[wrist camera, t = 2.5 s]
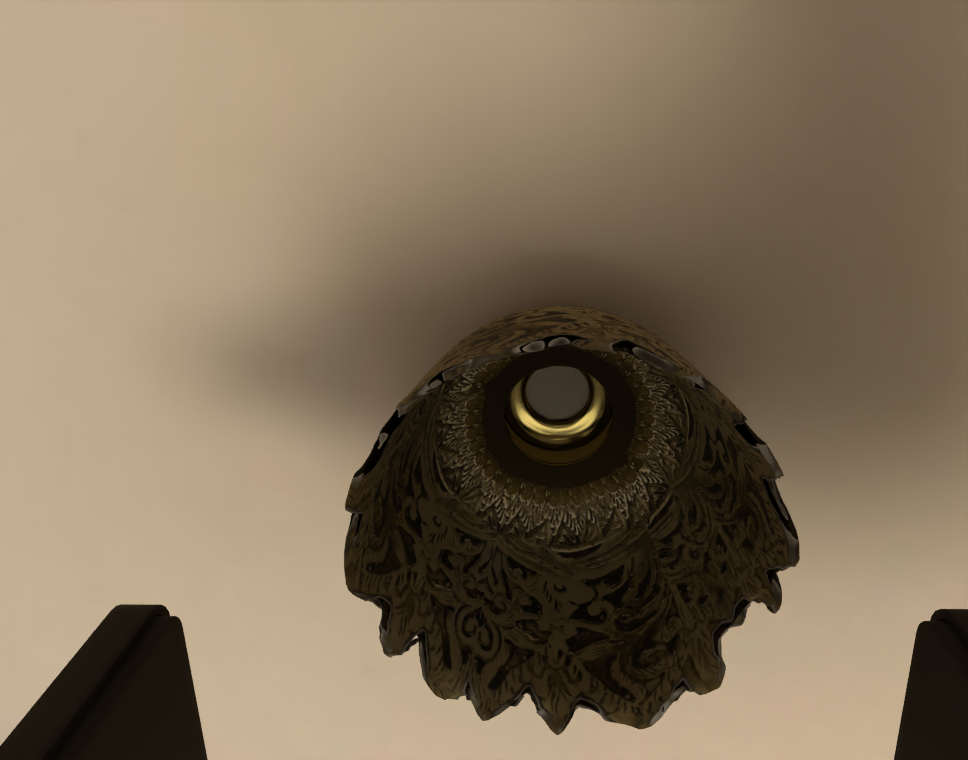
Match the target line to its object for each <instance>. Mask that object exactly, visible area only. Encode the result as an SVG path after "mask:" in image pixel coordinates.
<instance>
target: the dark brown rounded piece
mask: <svg viewBox="0 0 968 760" xmlns="http://www.w3.org/2000/svg"><path fill="white" fill-rule="evenodd" d="M551 366H567V367H572V368H576V369H578V370H579V371H580V372H581V373H582V374H583V375H584V377H585V378H586V380H587V382H588V385H589V399H588V402H587V405H586V407H585V408H584V410H583V411H582V412H581V413H580V414H579V415H578V416H576V417H575V418H573V419H571V420H568V421H564V422H551V421H547V420H544V419H542V418H540V417H539V416H537V415H536V414H535V413H534V412H533V411H532V410H531V408H530V407H529V405H528V402H527V399H526V386H527V382H528V380H529V378H530V377H531V375H532V374H533V373H534V372H535V371H536V370H539V369H542V368H546V367H551ZM396 409H397V410H396V411H395V412H394V414H393V415H392V417H391V418H390V419H389V420H388V422H387V423H386V424H385V425H384V427H383V428H382V430H381V431H380V433H379V436H378V439H377V441H376V442H375V444H374V447H373V449H372V451H371V453H370V455H369V457H368V458H367V460H366V461H365V463H364V464H363V466H362V467H361V468H360V469H359V470H358V471H357V472H356V473H355V474H354V477H353V479H352V482H351V485H350V488H349V491H348V495H347V498H346V503H345V509H346V511H348V512H351V513H352V516H351V521H350V526H349V529H348V533H347V536H346V542H345V550H344V570H345V578H346V585H347V587H348V590H349V591H350V592H351V593H352V594H353V595H355V596H357V597H358V598H361V599H363V600H365V601H370V602H373V603H374V604H375V605H376V606H377V607H379V608H380V609H382V619H381V623H380V625H379V630H380V637H379V638H380V642H381V644H382V647H383V652H384V654H385V655H387V656H388V657H392V656H395V655H402V654H403V653H404V652H406V651H409V649H410V647H411V646H413V645H415V644H416V643H417V642H419V656H420V663H421V668H422V675H423V678H424V680H425V682H426V683H427V685H428V686H429V688H430V689H431V690H432V692H433V693H434V694H435V695H436V696H438V697H440V698H442V699H444V700H446V699H456V700H457V699H458V698H459V697H460V696H465V695H466V699H467V700H471V701H472V703H473V705H474V707H475V710H476V712H477V714H478V716H479V717H480V718H481V720H482V721H486V720H489V719H491V718H493V717H495V716H497V715H499V714H500V713H502V712H503V711H504V710H505V709H507V708H508V707H509V706H517V705H518V704H519V703H520V701H521V700H522V699H523V697H524V696H523V695H524V694H526V693H528V694H530V696H531V699H532V701H533V702H534V704H535V706H536V710H537V714H539V715H540V716H541V717H542V718H543V719H544V721H545V722H546V724H547V725H548V726H549V728H550V729H551V730H552V731H553V732H554V733H555V734H556V735H559V734H561V733H562V732H563V731H564V729H565V728H566V726H567V725H568V723H569V722H570V720H571V718H572V716H573V714H574V712H575V710H576V709H578V708H579V707H581V708H585V709H590V710H593V711H595V712H597V713H599V714H600V715H601V716H602V718H603V719H604V720H605V721H609V722H614V723H620V724H625V725H629V726H632V727H635V728H637V729H645V728H648V727H650V726H652V725H653V724H655V723H656V722H657V721H658V720H659V719H660V718H661V717H662V716H663V714H664V713H665V712H666V710H667V709H668V708H669V706H670V705H671V704H672V703H673V702H674V701H677V700H678V699H679V697H680V696H681V695H682V694H683V693H684V692H685V691H686V690H687V691H689V692H695V693H697V694H698V695H703V694H706V693H709V692H711V691H713V690H715V689H718V688H719V687H720V686H721V683H722V681H723V678H724V675H725V670H726V668H725V667H726V666H725V663H724V662H723V660H722V656H721V638H722V636H723V635H724V634H725V633H726V632H727V631H728V629H729V628H731V627H735V626H741V625H742V624H743V622H744V620H745V617H746V613H747V609H748V608H749V606H750V605H751V604H750V603H751V602H752V601H754V602H756V603H761V602H763V603H764V604H765V605H766V606H767V608H768V610H769V611H771V612H772V613H774V614H775V613H776V612H777V611H778V610H779V609H780V606H781V603H782V590H781V585H780V582H779V578H778V576H777V573H776V572H778V571H783V570H785V569H787V568H789V567H791V566H792V567H795V566H796V565H797V563H798V561H799V558H800V557H799V540H798V536H797V532H796V529H795V526H794V524H793V521H792V519H791V516H790V514H789V512H788V510H787V508H786V506H785V504H784V502H783V500H782V498H781V496H780V493H779V491H778V488H777V485H776V482H775V480H776V479H777V478H781V476H784V474H783V472H782V470H781V468H780V466H779V464H778V462H777V460H776V459H775V457H774V456H773V454H772V452H771V450H770V449H769V447H768V446H767V444H766V443H765V442H764V441H762V440H761V439H760V438H759V437H758V436H757V435H756V434H755V433H754V432H753V431H752V430H751V428H750V427H749V426H748V425H747V424H746V423H745V421H746V420H747V419H746V417H745V416H744V415H743V414H742V413H741V412H740V410H739V409H738V408H737V407H736V406H735V405H734V404H733V403H732V402H731V401H730V400H729V399H728V398H727V397H726V396H725V395H724V394H723V393H722V392H720V391H719V390H718V389H717V388H716V387H715V386H714V385H713V384H711V383H710V382H709V381H708V380H707V379H706V378H705V377H704V376H703V375H702V374H701V373H700V372H699V371H698V370H697V369H696V368H694V367H693V366H692V365H691V364H690V363H689V362H688V361H687V360H686V359H685V358H684V357H683V356H682V355H680V354H679V353H678V352H677V351H676V350H675V349H673V348H672V347H671V346H670V345H668V344H667V343H665V342H664V341H663V340H661V339H660V338H659V337H657V336H656V335H654V334H653V333H651V332H649V331H648V330H646V329H644V328H642V327H641V326H639V325H637V324H635V323H633V322H631V321H629V320H626V319H624V318H621V317H619V316H617V315H614V314H610V313H607V312H604V311H600V310H595V309H590V308H584V307H573V306H549V307H541V308H534V309H528V310H524V311H520V312H517V313H513V314H510V315H507V316H505V317H502V318H500V319H497V320H495V321H493V322H491V323H489V324H487V325H485V326H483V327H481V328H480V329H478V330H477V331H475V332H474V333H472V334H471V335H469V336H468V337H466V338H465V339H463V340H462V341H461V342H459V343H458V344H457V345H456V346H455V347H454V348H452V349H451V350H450V351H449V352H448V353H447V354H446V355H445V356H443V357H442V358H441V359H440V361H439V362H438V363H437V364H436V365H435V366H434V367H433V368H432V369H431V370H430V371H429V372H428V374H427V375H426V376H425V377H424V378H423V379H422V380H421V381H420V382H419V383H418V385H417V386H416V387H415V388H414V389H413V390H412V392H411V393H410V394H409V395H408V396H407V397H406V398H405V399H404V400H402V401H401V402H400V403H399V404H398V405H397V407H396ZM416 635H417V636H418V638H416V639H414V640H412V639H413V638H414V637H415V636H416ZM411 640H412V641H411Z"/></svg>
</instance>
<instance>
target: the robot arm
mask: <svg viewBox="0 0 968 760" xmlns="http://www.w3.org/2000/svg"><path fill="white" fill-rule="evenodd" d="M0 760H207V755H206V749H205V744H204V739H203V733H202V728H201V723H200V717H199V712H198V707H197V701H196V696H195V691H194V685H193V680H192V675H191V669H190V664H189V659H188V653H187V648H186V643H185V637H184V632H183V627H182V623H181V621H180V619H179V618H178V617H176V616H170V614H169V611H168V610H167V608H166V607H165V606H163V605H118V606H116V607H115V608H114V609H112V610H111V611H110V613H109V614H108V615H107V616H106V618H105V619H104V620H103V621H102V622H101V624H100V625H99V626H98V627H97V629H96V630H95V631H94V632H93V633H92V635H91V636H90V637H89V638H88V640H87V641H86V642H85V643H84V644H83V646H82V647H81V648H80V649H79V651H78V652H77V653H76V654H75V655H74V657H73V658H72V659H71V660H70V662H69V663H68V664H67V665H66V666H65V668H64V669H63V670H62V671H61V673H60V674H59V675H58V676H57V677H56V679H55V680H54V681H53V682H52V684H51V685H50V686H49V687H48V688H47V690H46V691H45V692H44V693H43V695H42V696H41V697H40V698H39V699H38V701H37V702H36V703H35V704H34V706H33V707H32V708H31V709H30V710H29V712H28V713H27V714H26V715H25V717H24V718H23V719H22V720H21V721H20V723H19V724H18V725H17V726H16V728H15V729H14V730H13V731H12V732H11V734H10V735H9V736H8V737H7V739H6V740H5V741H4V742H3V743H2V745H1V746H0ZM894 760H968V609H939V610H937V611H935V612H934V614H933V615H932V617H931V620H930V621H924V622H921V623H920V624H919V626H918V629H917V632H916V638H915V644H914V649H913V655H912V661H911V666H910V672H909V678H908V683H907V689H906V695H905V700H904V706H903V712H902V717H901V723H900V728H899V734H898V740H897V745H896V751H895V757H894Z"/></svg>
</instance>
